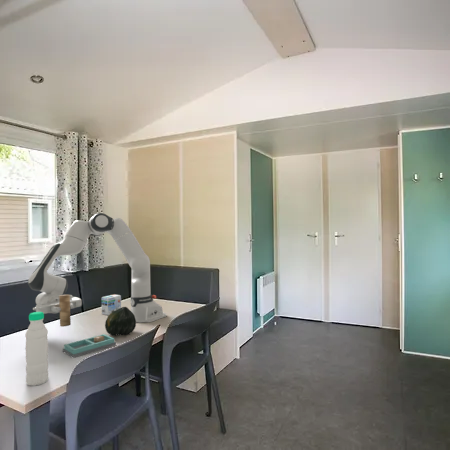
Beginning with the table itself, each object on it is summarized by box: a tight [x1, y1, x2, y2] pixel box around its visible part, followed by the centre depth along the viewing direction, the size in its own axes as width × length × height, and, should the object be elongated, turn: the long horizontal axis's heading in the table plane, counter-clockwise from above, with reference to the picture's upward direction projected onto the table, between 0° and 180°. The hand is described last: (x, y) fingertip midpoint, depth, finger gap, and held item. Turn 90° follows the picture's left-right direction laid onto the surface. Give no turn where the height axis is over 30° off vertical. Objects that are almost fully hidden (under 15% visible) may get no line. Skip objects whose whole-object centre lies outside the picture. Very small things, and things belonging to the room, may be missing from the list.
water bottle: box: [25, 311, 49, 387], centre depth 121 cm, size 7×7×25 cm
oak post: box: [59, 294, 72, 327], centre depth 158 cm, size 4×4×14 cm
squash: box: [104, 306, 137, 336], centre depth 173 cm, size 14×15×15 cm
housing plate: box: [62, 333, 117, 358], centre depth 154 cm, size 20×11×4 cm, turn 137°
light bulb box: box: [101, 293, 122, 316], centre depth 215 cm, size 11×7×11 cm, turn 148°
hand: (65, 308), depth 157 cm, fingers closed on oak post, 4 cm apart
